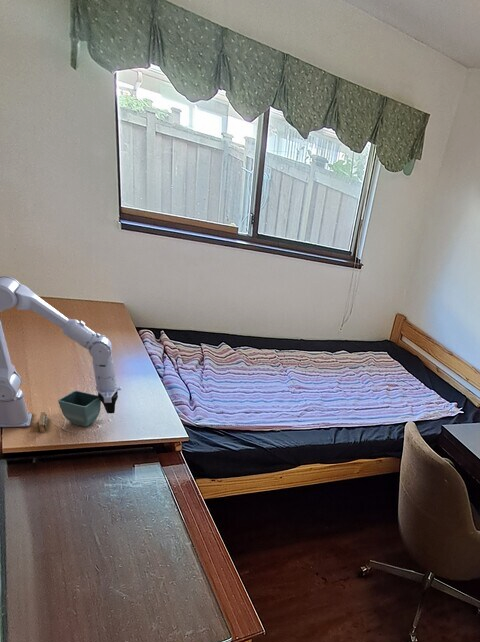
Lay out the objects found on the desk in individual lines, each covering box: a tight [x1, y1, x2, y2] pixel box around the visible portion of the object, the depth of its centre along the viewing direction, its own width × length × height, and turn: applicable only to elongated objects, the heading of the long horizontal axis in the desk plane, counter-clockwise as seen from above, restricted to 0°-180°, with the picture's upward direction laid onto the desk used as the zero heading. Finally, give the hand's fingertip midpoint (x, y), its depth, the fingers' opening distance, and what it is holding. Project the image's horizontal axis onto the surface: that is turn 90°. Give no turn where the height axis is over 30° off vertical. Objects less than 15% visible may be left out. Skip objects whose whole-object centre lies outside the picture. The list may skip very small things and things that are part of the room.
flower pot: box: [57, 390, 102, 428], centre depth 149 cm, size 9×9×9 cm
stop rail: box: [38, 411, 49, 433], centre depth 144 cm, size 2×8×3 cm, turn 27°
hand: (110, 412), depth 153 cm, fingers closed
